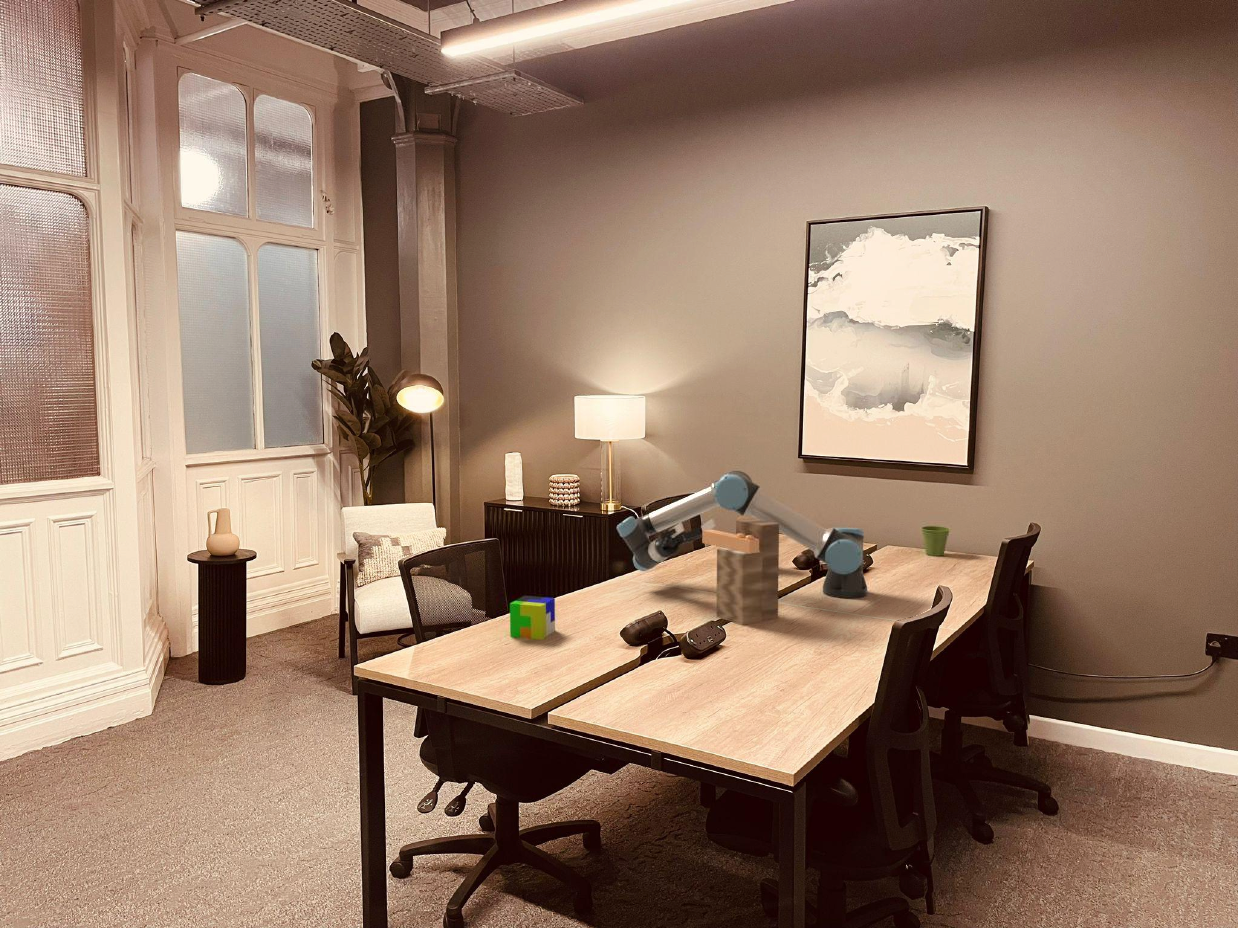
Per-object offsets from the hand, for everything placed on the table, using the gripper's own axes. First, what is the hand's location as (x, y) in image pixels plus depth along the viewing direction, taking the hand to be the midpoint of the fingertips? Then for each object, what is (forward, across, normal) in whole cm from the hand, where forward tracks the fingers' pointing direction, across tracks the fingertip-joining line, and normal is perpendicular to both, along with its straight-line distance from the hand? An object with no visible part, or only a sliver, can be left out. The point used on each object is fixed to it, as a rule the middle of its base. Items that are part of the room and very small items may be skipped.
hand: (698, 524), depth 303 cm
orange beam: (+11, 0, -12) cm, 16 cm away
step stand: (+4, -4, -34) cm, 34 cm away
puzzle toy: (-17, +60, -22) cm, 66 cm away
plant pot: (-19, -134, -21) cm, 137 cm away
